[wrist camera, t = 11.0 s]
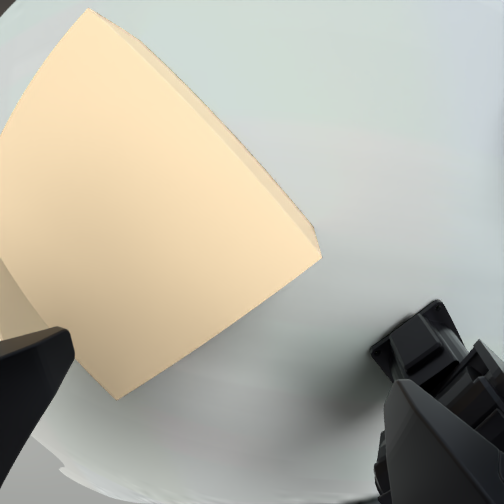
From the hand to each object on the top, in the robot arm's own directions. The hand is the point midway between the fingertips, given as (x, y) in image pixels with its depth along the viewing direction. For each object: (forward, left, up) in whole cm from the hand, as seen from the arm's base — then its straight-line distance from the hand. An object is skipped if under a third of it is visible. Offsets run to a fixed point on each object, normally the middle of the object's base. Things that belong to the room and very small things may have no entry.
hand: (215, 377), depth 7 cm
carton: (+8, +5, -13) cm, 16 cm away
